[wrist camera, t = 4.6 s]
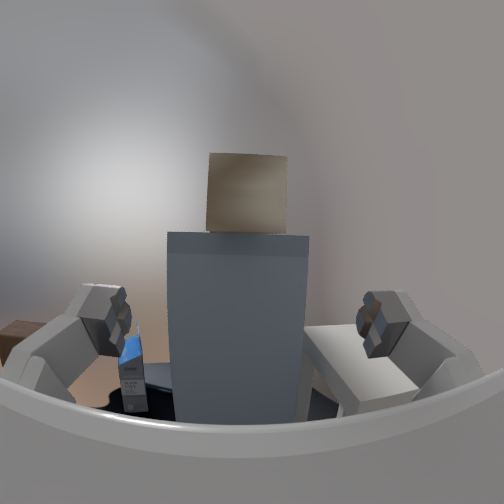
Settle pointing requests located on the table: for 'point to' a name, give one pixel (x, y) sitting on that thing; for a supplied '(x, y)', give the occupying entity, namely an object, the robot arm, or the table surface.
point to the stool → (349, 373)
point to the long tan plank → (246, 194)
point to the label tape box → (132, 375)
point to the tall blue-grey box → (236, 325)
